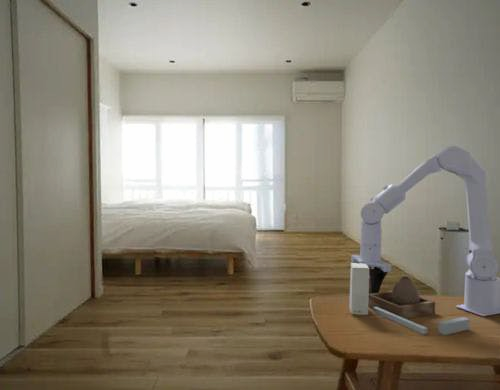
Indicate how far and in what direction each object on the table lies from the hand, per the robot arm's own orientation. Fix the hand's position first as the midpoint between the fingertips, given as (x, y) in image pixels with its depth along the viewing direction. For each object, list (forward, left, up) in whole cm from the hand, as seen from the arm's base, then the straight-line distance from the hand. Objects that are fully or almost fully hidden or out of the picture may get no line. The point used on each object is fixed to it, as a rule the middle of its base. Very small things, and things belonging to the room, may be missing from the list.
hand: (369, 291), depth 116 cm
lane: (+2, +20, -2) cm, 20 cm away
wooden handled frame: (0, +8, -2) cm, 8 cm away
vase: (0, +13, -2) cm, 13 cm away
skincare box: (+11, +9, -2) cm, 14 cm away
